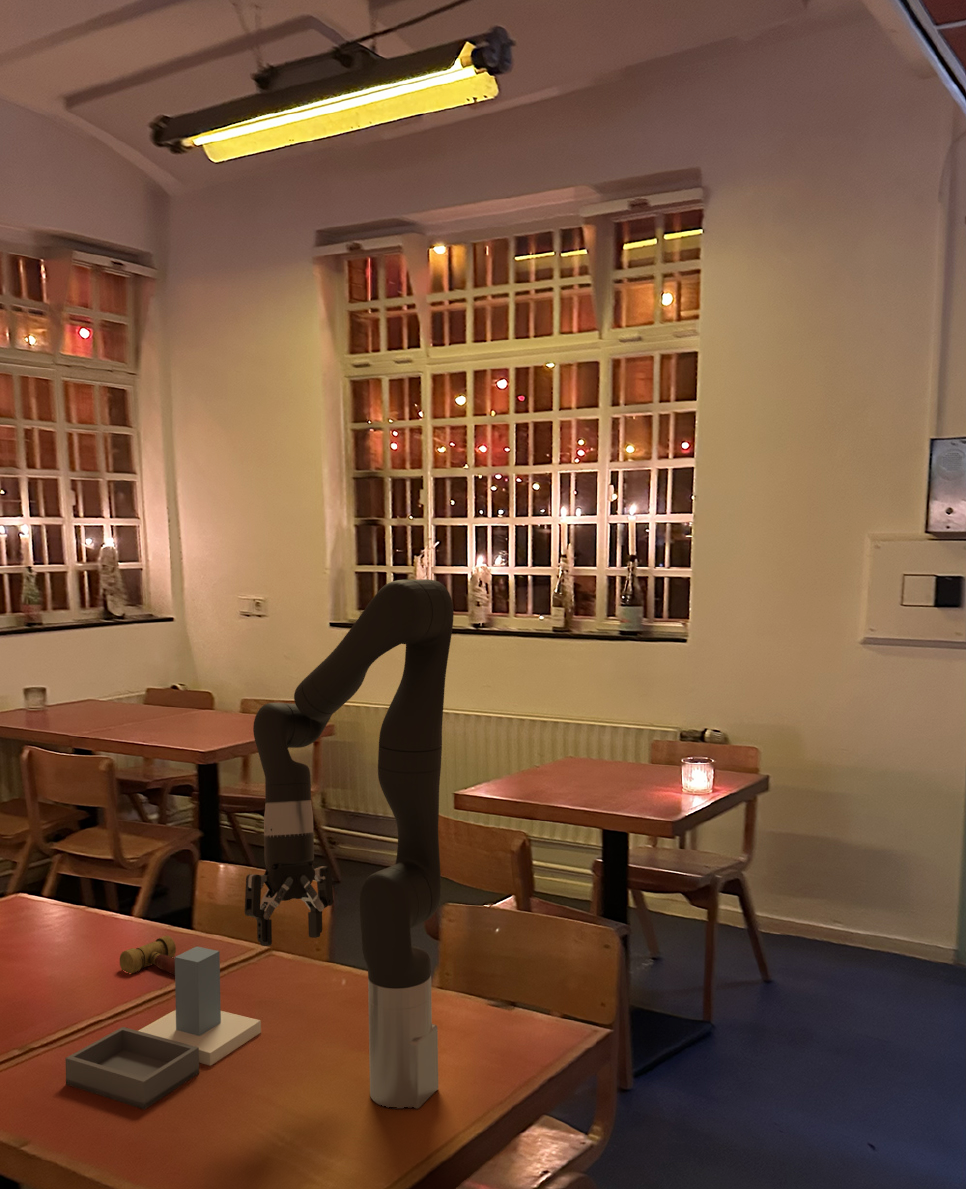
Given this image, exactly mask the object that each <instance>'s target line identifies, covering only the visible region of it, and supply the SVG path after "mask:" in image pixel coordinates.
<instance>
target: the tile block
mask: <svg viewBox="0 0 966 1189" xmlns="http://www.w3.org/2000/svg"><path fill="white" fill-rule="evenodd" d="M220 955H221V954H220V950H217V949H216V950H215V949H210V948H206V947H203V946H198V945H197V946H195V947H193V948H190V949H188V950H186V951H184V952H182V953H180V954H179V955H176V956H174V959H175V975H174V978H175V979H174V985H175V986H174V987H175V988H174V992H175V1010H176V1030H178V1031H182V1032H186V1033H190V1034H194V1035H197V1036H200V1035H202V1034H204V1033H205V1032H207V1031H208V1030H210V1029H212V1028H213V1027H215V1026H217V1025H218V1024H220V1023H221V1011H222V1010H221V1007H222V1006H221V964H220V963H221V962H220V959H221V957H220Z"/></svg>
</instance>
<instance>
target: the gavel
mask: <svg viewBox="0 0 966 1189" xmlns="http://www.w3.org/2000/svg"><path fill="white" fill-rule="evenodd" d="M176 946H177V945H176V943H175V941H174V939H173V938H172V937H171V936H170V935H164V936H161V937H159V938H157V939H156V940H154V941H152V942H150V943H146V944H144V945H141V946H139V947H136V948H134V947H132V948H129V949H126V950H124V951H122V952H121V953H120V955H119V966H120V969H121V971H122V970H124V971H126V972H128V973H131V974H130V975H133V974H135V972H136V973H138V972H140V971H141V969H144V968H146V966H147V967H149V966H152V965H154V966H155V965H156V966H157V967H158V968H159V969H161V970H164V971H165V972H168V973H170V974H172V975H173V976H175V957H176V956H175V955H176V952H177V948H176ZM172 957H173V958H172ZM151 964H152V965H151ZM137 971H138V972H137ZM132 973H133V974H132Z"/></svg>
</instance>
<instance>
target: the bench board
mask: <svg viewBox="0 0 966 1189" xmlns="http://www.w3.org/2000/svg"><path fill="white" fill-rule="evenodd" d="M137 1031H140V1032H144V1033H147V1034H151V1035H155V1036H158V1037H162V1038H166V1039H170V1040H173V1041H177V1042H181V1043H184V1044H188V1045H192V1046H195V1047H199V1064H203V1065H207V1066H210V1067H211V1066H212V1065H214V1064H215V1063H217V1062H219V1061H220V1060H222V1059H224V1058H225V1057H226V1056H227V1055H229V1054H230V1053H232V1052H234V1051H235V1050H237V1049H238V1048H239V1047H241V1046H242V1045H244V1044H245V1043H247V1042H248V1041H251V1040H252V1039H253V1038H254V1037H257V1036H259V1034H261V1032H262V1021H261V1020H260V1019H257V1018H251V1017H249V1016H248V1017H247V1016H244V1015H240V1014H236V1013H231V1012H228V1011H224V1010H221V1023H220V1024H218V1025H217V1026H215V1027H213V1028H212V1029H210V1030H208V1031H207V1032H205V1033H204V1034H202V1035H200V1036H197V1035H194V1034H190V1033H186V1032H182V1031H178V1030H176V1009H175V1010H173V1011H171V1012H169V1013H167V1014H164V1016H162V1017H160V1018H158V1019H157V1020H155V1021H153V1022H151V1023H149V1024H148V1025H146V1026H143V1027H142V1028H140V1029H139V1030H137Z"/></svg>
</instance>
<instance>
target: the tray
mask: <svg viewBox="0 0 966 1189" xmlns="http://www.w3.org/2000/svg"><path fill="white" fill-rule="evenodd" d="M64 1061H65V1062H64V1063H65V1085H67V1086H70V1087H72V1088H76V1089H79V1090H82V1091H85V1092H88V1093H92V1094H95V1095H99V1096H101V1097H103V1098H108V1099H110V1100H114V1101H116V1102H119V1103H123V1104H126V1105H129V1106H132V1107H136V1108H139V1109H141V1110H146V1109H147V1108H149V1107H150V1106H152V1105H154V1104H155V1103H157V1102H158V1101H160V1100H161V1099H163V1098H165V1096H168V1095H169V1094H170V1093H171V1092H173V1091H175V1090H176V1089H178V1088H179V1087H181V1086H183V1085H184V1084H185V1083H186V1082H187V1083H188V1082H189V1081H190V1080H191V1079H193V1078H194V1077H196V1076H197V1075H199V1074H200V1063H199V1047H195V1046H192V1045H188V1044H184V1043H181V1042H177V1041H173V1040H170V1039H166V1038H162V1037H158V1036H155V1035H151V1034H147V1033H144V1032H140V1031H138V1030H137V1029H136V1030H135V1029H133V1028H129V1027H128V1028H127V1027H125V1026H121V1027H120V1028H118V1029H116V1030H114V1031H113V1032H111V1033H109V1034H107V1035H105V1036H103V1037H102V1038H100V1039H98V1040H96V1041H94V1042H92V1043H91V1044H89V1045H86V1046H85V1047H83V1048H81V1049H79V1050H78V1051H76V1052H74V1053H73V1054H70V1055H68V1056H67V1057H65V1060H64Z"/></svg>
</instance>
